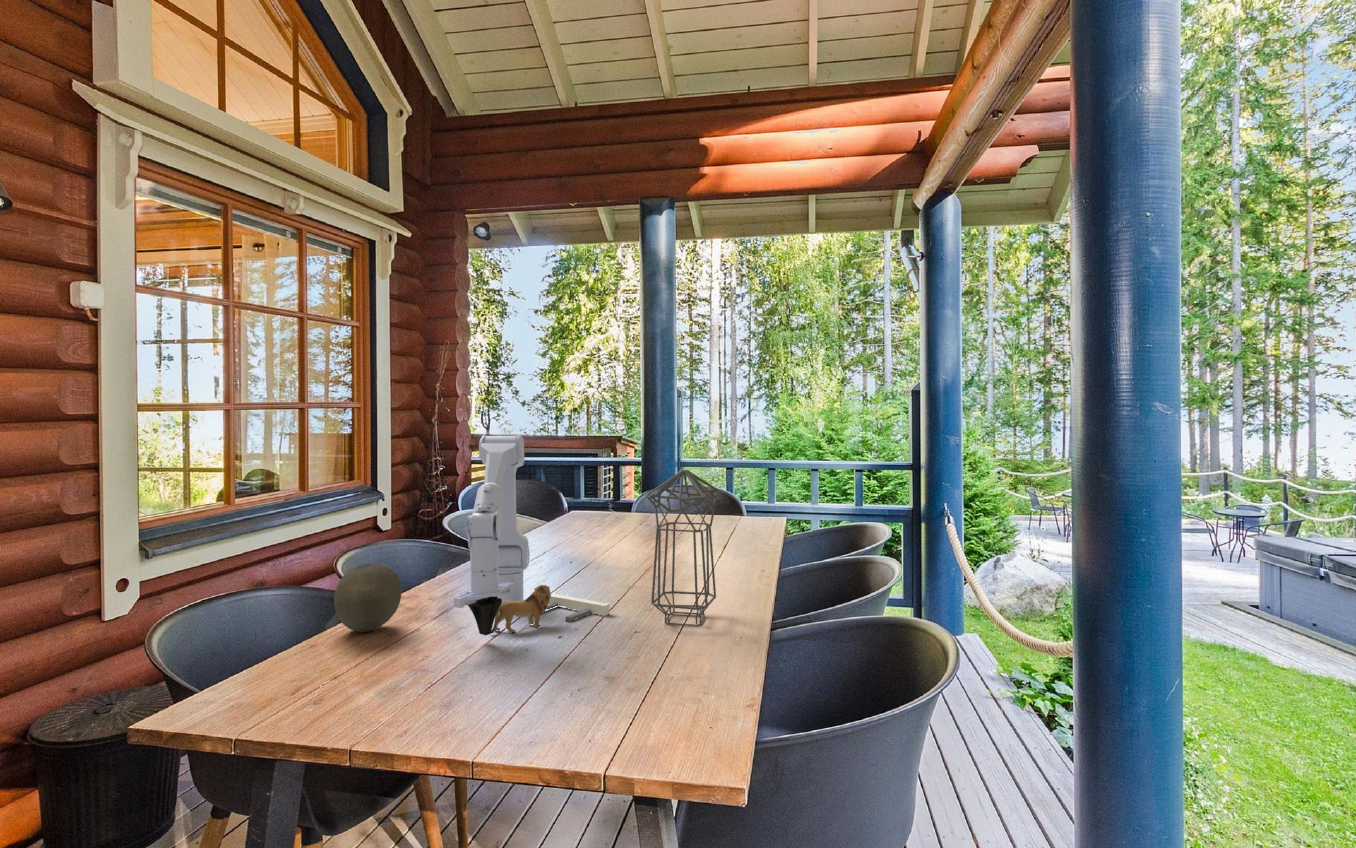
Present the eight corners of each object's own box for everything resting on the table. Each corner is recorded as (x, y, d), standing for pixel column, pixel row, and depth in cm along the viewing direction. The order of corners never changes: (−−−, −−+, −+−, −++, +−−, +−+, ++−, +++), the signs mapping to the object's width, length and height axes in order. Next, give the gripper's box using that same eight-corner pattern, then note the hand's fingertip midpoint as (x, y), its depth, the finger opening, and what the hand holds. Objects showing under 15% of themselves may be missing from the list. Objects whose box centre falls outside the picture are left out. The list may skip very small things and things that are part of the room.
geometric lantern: (643, 628, 149) (642, 472, 149) (661, 608, 165) (660, 467, 164) (712, 633, 146) (711, 473, 145) (724, 612, 161) (723, 467, 161)
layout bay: (520, 611, 162) (520, 601, 162) (547, 602, 170) (547, 592, 170) (584, 624, 152) (583, 613, 152) (609, 614, 160) (609, 603, 160)
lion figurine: (544, 619, 156) (544, 581, 156) (556, 625, 152) (555, 585, 152) (485, 633, 146) (484, 592, 146) (495, 639, 142) (495, 597, 142)
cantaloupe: (318, 638, 143) (317, 569, 143) (366, 619, 157) (366, 556, 157) (371, 644, 139) (371, 573, 139) (417, 624, 152) (416, 559, 152)
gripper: (470, 578, 131) (470, 647, 132) (523, 564, 144) (523, 627, 144) (446, 574, 135) (447, 641, 135) (500, 561, 148) (500, 622, 148)
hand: (485, 633), depth 140 cm, fingers closed
